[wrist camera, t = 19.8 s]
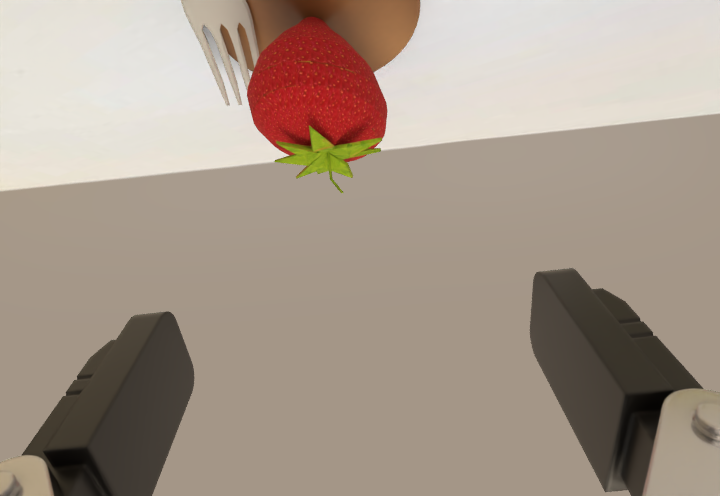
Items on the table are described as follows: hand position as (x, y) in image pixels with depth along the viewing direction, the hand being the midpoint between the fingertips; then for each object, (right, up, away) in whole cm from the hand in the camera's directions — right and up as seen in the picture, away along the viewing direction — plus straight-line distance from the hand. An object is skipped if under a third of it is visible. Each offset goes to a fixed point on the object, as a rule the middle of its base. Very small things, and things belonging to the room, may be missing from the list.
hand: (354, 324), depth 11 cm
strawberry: (-2, +14, +14) cm, 20 cm away
